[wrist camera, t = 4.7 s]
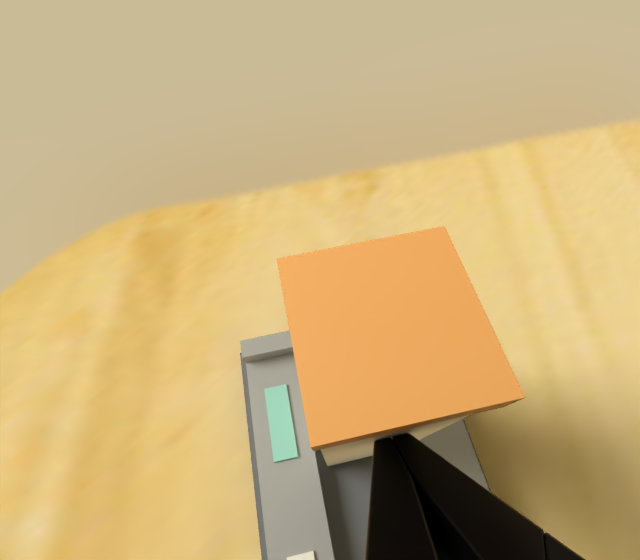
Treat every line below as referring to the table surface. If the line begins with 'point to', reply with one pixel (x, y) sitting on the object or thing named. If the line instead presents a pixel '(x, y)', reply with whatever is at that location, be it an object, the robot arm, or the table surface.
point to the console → (313, 465)
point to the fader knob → (389, 342)
